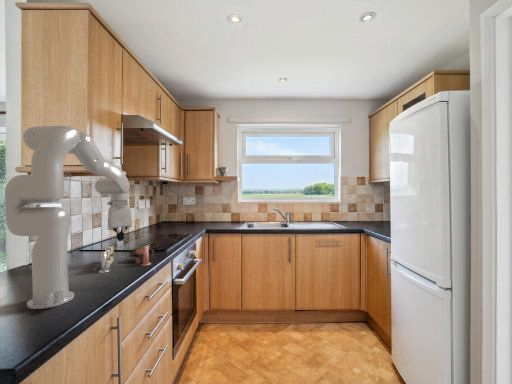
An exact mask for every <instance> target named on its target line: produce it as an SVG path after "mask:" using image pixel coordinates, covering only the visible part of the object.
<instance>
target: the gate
mask: <svg viewBox="0 0 512 384" xmlns="http://www.w3.org/2000/svg"><path fill="white" fill-rule="evenodd" d="M114 247H115V245H109V246H108V247H107V248H106V249H105V251H107V269H109V267H110V266H111V265H112V263H113V262H114V261H115V248H114Z"/></svg>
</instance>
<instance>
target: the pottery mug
mask: <svg viewBox="0 0 512 384" xmlns="http://www.w3.org/2000/svg"><path fill="white" fill-rule="evenodd" d="M148 250H149V259H150V258H152V257H153V256H154V254H155V251H154V249H153V248H148ZM128 258H137V259H135V260H134V261H135V263H136V264H142V263H144V261H143V246H141V247H137V248H134V249H131V250H130V251H129V256H128Z"/></svg>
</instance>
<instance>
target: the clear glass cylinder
mask: <svg viewBox="0 0 512 384" xmlns="http://www.w3.org/2000/svg"><path fill="white" fill-rule="evenodd" d="M100 256H101V257H100V265H101V269H100V270H98V273H99V274H105V273H109V272H111V270H110V269H109V268H108V269H107V251H106V250H105V251H101V252H100Z"/></svg>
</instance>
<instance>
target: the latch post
mask: <svg viewBox="0 0 512 384" xmlns="http://www.w3.org/2000/svg"><path fill="white" fill-rule="evenodd" d="M142 247H143V261H144V262H141V263H140V264H141V266H142V267H143V266H144V267H146V266H150V265H152V263H151V262H150V258H149V255H150V252H149V250H148V249H149V245H143V246H142Z"/></svg>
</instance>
